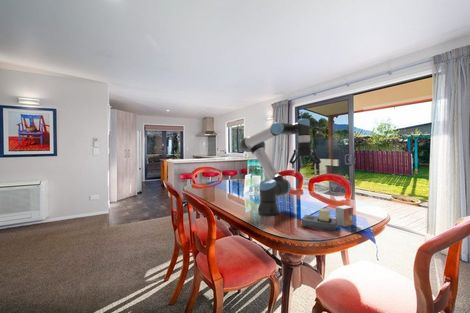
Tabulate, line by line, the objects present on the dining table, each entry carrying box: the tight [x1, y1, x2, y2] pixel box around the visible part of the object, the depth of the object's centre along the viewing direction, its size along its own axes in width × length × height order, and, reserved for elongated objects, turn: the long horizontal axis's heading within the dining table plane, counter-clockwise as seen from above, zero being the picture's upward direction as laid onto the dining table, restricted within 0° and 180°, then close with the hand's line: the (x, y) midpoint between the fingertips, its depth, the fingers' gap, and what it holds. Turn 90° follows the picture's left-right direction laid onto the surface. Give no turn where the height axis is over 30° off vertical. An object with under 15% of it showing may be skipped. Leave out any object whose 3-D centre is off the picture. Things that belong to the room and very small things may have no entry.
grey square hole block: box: [300, 214, 338, 233], centre depth 120 cm, size 18×10×4 cm, turn 58°
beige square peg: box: [318, 207, 331, 223], centre depth 118 cm, size 5×5×10 cm
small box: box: [335, 204, 354, 228], centre depth 121 cm, size 8×6×10 cm
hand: (304, 173), depth 138 cm, fingers open, 13 cm apart
